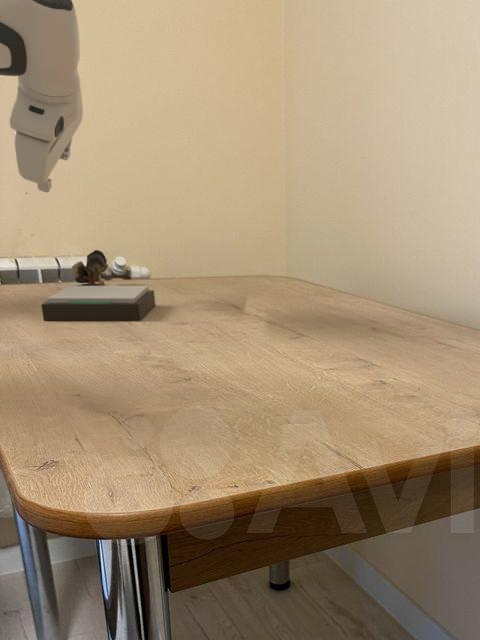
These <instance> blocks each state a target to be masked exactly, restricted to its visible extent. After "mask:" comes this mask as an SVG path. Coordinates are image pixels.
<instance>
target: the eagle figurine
mask: <svg viewBox="0 0 480 640" xmlns="http://www.w3.org/2000/svg"><path fill="white" fill-rule="evenodd" d="M107 261H108V260H107V258H106V256H105V254H104V253H103V251H101V250H98V249H95V250H93V251H92V252H90V253H89V254H88V255H86V262H85V263H86V265H85V264H84V262H83V261H82V260H80V261H77V262H75V263H74V264H73V265H71V274H72V276H74V277H75V278H74V281H75V282H76V283H78V284H89V286H96V285H95V284H96V283H95V282H97V284H100V285H101V286H107V285H106V284H105V281H104V280H103V278H102V277H101V276H100V275H101V274H102V273H104V272H105V271H106V270H107V269H108V267H109V264H108V262H107Z"/></svg>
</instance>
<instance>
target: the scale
mask: <svg viewBox="0 0 480 640" xmlns="http://www.w3.org/2000/svg"><path fill="white" fill-rule="evenodd" d="M149 288H150V287H149V285H106V286H104V285H94V286H90V285H69V286H67V287H65V288H63V289H62V290H59V291H57V292H56V293H54V294H52V295H50V296H48V297H47V298H46V301H45V302H43V303H41V311H42V317H43V318H42V319H43V321H44V322H51V321H52V322H53V321H55V322H56V321H57V322H59V321H60V322H61V321H67V322H68V321H69V322H70V321H71V322H73V321H77V322H78V321H79V322H80V321H81V322H82V321H84V322H88V321H93V322H94V321H95V322H96V321H97V322H99V321H101V322H102V321H103V322H105V321H106V322H107V321H108V322H109V321H114V322H115V321H117V322H118V321H122V322H123V321H141V320H142V319H143V318H145V316H146V315H147V314H148V313H149V312H150V311H151V310H152V309H154V307H155V306H156V298H155V290H153V289H152V290H151V289H149Z"/></svg>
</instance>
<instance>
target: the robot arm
mask: <svg viewBox="0 0 480 640" xmlns="http://www.w3.org/2000/svg"><path fill="white" fill-rule="evenodd" d="M78 23H79V22H78V16H77V12H76V9H75V6H74V3H73V1H72V0H0V76H5V77H17V82H18V83H17V84H18V85H17V86H16V96H15V99H14V103H13V106H12V109H11V112H10V114H9V126H10V128H11V129H12V130H14V150H15V151H14V152H15V157H16V165H17V171H18V173H19V175H20V176H21V178H22V179H24V180H26V181H30V182H32V183H35V184H37V189H38V191H41V192H43V193H47V194H48V193H50V190H51V188H52V179H51V178H49V177H50V175H51V174H52V172H53V170H54V169H55V167H56V165H57V164H58V161H59V160H63V161H68V159H69V158H70V156H71V147H72V141H73V138H74V137H73V136H74V135H75V133H76V131H77V130H78V129H79V126H80V125H81V123H82V121H83V115H84V110H83V96H82V88H81V78H80V75H79V72H78V65H79V62H80V57H81V48H80V47H81V45H80V30H79V24H78Z"/></svg>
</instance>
